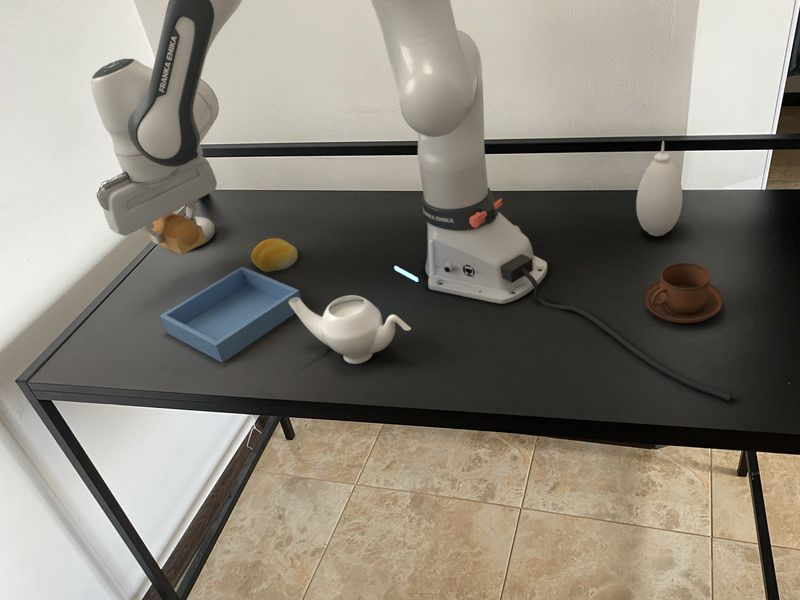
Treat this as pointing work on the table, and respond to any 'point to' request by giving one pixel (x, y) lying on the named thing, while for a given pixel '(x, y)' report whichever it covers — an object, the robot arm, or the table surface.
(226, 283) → the tray
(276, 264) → the bread roll
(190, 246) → the loaf
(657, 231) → the white air blower bulb
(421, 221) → the table surface
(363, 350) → the teapot
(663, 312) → the cup and saucer
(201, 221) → the donut
